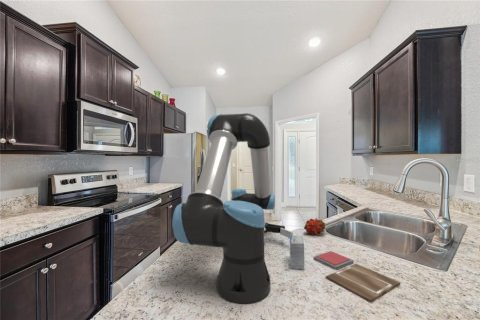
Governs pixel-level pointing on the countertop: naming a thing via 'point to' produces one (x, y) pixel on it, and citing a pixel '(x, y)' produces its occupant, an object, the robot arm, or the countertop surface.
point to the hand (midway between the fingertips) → (279, 238)
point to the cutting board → (363, 282)
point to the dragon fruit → (314, 226)
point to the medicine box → (297, 252)
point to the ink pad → (333, 260)
